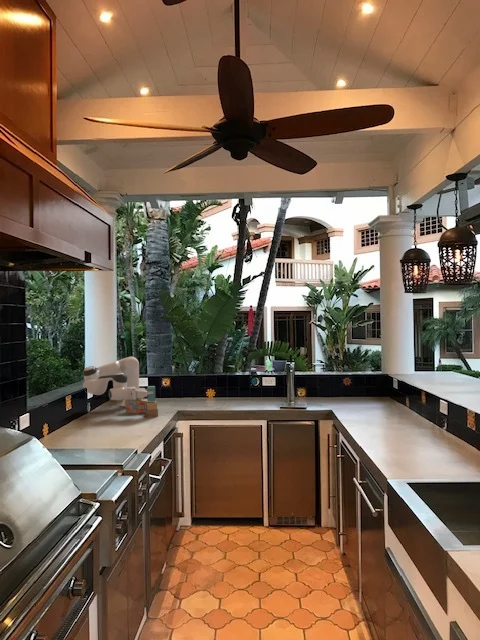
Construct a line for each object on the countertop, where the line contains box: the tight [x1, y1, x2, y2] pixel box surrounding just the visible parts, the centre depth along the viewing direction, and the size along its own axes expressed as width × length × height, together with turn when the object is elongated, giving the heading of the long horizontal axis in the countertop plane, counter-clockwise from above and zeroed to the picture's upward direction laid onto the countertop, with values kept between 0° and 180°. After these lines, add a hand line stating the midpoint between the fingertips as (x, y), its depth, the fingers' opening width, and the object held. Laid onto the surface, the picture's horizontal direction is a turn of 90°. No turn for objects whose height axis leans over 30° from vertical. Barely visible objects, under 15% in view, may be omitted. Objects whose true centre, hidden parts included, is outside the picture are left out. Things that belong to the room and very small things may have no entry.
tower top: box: [146, 400, 158, 410], centre depth 342 cm, size 7×7×5 cm
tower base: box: [144, 408, 159, 418], centre depth 342 cm, size 8×8×5 cm
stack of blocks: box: [125, 397, 148, 414], centre depth 357 cm, size 21×6×12 cm, turn 77°
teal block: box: [146, 385, 156, 402], centre depth 342 cm, size 5×5×10 cm
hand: (152, 391), depth 342 cm, fingers open, 5 cm apart
